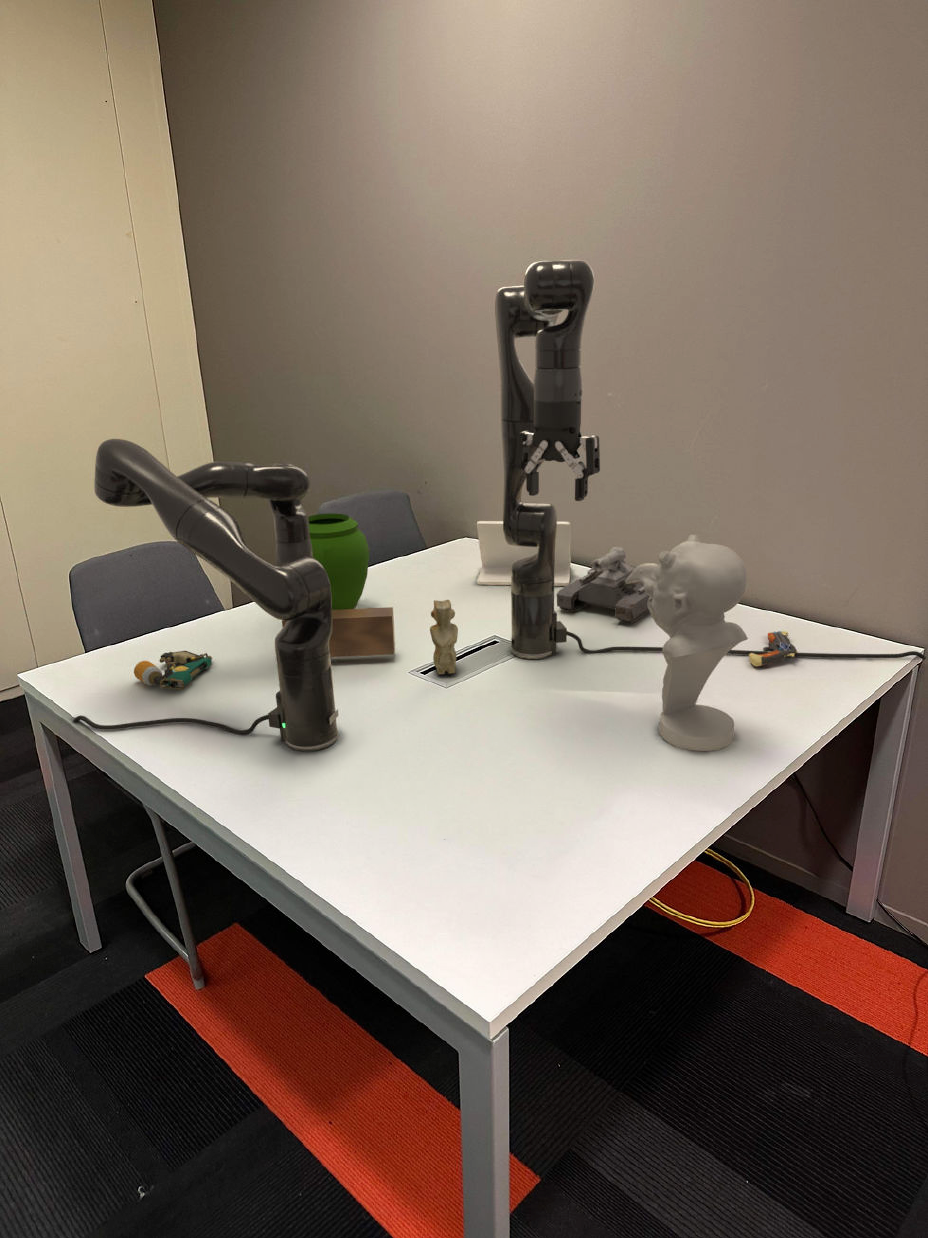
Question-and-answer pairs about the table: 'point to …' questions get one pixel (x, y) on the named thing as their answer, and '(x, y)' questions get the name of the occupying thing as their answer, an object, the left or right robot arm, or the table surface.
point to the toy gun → (774, 649)
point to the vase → (340, 556)
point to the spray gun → (172, 669)
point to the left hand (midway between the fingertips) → (302, 634)
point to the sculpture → (444, 637)
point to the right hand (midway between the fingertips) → (556, 497)
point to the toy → (607, 589)
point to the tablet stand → (517, 554)
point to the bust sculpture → (694, 634)
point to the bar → (362, 632)
